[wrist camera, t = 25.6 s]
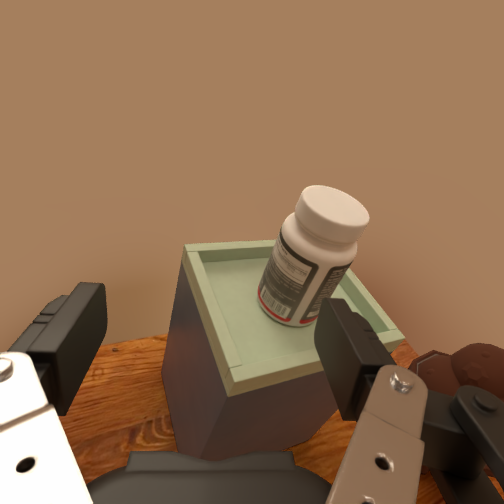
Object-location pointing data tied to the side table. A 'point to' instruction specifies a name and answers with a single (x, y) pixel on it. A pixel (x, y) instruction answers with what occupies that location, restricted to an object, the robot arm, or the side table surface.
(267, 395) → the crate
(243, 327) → the tray
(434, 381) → the ice cream bowl
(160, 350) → the side table surface
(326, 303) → the robot arm
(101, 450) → the side table surface
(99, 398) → the side table surface
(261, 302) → the pill bottle
